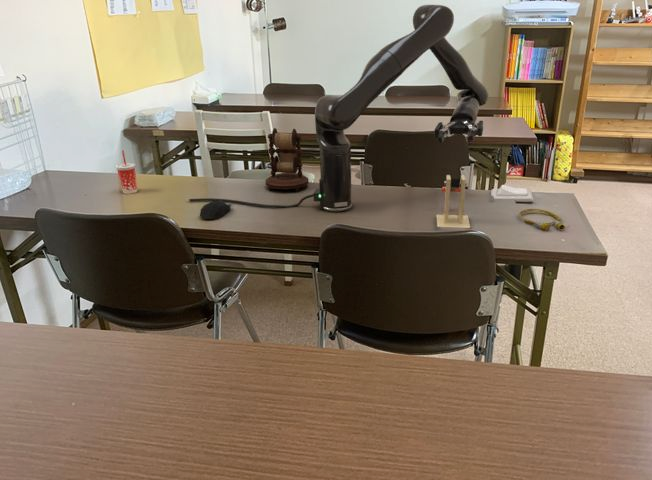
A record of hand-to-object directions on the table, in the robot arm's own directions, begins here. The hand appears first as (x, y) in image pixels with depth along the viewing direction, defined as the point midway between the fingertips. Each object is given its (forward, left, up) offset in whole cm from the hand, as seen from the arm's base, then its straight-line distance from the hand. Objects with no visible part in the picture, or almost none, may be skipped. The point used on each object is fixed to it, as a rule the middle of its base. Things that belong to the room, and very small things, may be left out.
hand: (455, 139), depth 165 cm
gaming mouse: (-70, -13, -21) cm, 74 cm away
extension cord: (+25, -12, -21) cm, 35 cm away
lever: (0, -13, -12) cm, 17 cm away
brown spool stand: (-55, +15, -21) cm, 61 cm away
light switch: (+20, +10, -21) cm, 30 cm away
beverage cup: (-107, +5, -21) cm, 109 cm away
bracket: (0, -17, -20) cm, 27 cm away
